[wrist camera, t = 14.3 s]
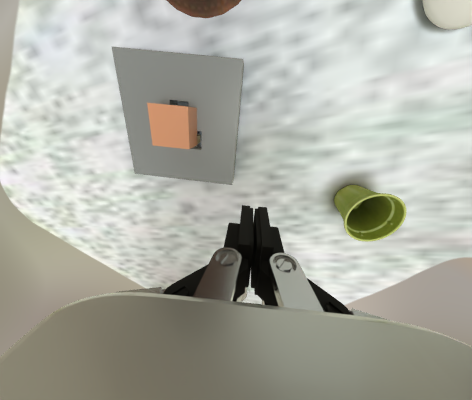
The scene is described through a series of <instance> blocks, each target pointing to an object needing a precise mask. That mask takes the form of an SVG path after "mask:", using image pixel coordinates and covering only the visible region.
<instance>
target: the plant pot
mask: <svg viewBox="0 0 472 400" xmlns="http://www.w3.org/2000/svg"><path fill="white" fill-rule="evenodd" d="M334 203H335V206H336V207H337V209H338V211H339V212H340V214H341V216H342V218H343V220H344V228H345V230H346V232H347V233H348V235H349V236H351V237H352V238H354V239H356V240H359V241H375V240H379V239H382V238H385V237H387V236H389V235H391V234H392V233H394V232H395V231H396V230H397V229H398V228H399V227H400V226H401V225H402V223H403V222H404V219H405V217H406V206H405V204H404V202H403V201H402V200H401V199H400V198H398V197H396V196H394V195H391V194H381V193H376V192H373V191H371V190H368V189H366V188H363V187H361V186H358V185H348V186H346V187H344V188H342V189H341V190H339V191H338V192H337V193H336V195H335V198H334Z"/></svg>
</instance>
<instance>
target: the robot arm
mask: <svg viewBox="0 0 472 400" xmlns="http://www.w3.org/2000/svg"><path fill="white" fill-rule="evenodd" d="M250 271H251V288H255V295H258V296H259V297H260V298H261V299H262V305H261V304H252V303H243V302H242V301H243V300H244V299H245V298H246V295H247V288H246V287H248V286H249V278H250ZM0 400H472V346H470V345H468V344H466V343H464V342H461V341H459V340H457V339H454V338H452V337H449V336H447V335H445V334H442V333H439V332H435V331H432V330H429V329H426V328H423V327H418V326H414V325H411V324H406V323H400V322H395V321H390V320H387V319H384V318H381V317H378V316H374V315H371V314H368V313H365V312H362V311H359V310H355V309H351V311H350V310H348V309H347V308H346V307H345V306H344V305H343V304H342V303H341V302H339V301H338V300H336V299H335V298H334V297H332V296H331V295H330V294H328V293H327V292H325V291H324V290H323V289H321V288H320V287H319V286H317V285H316V284H314V283H313V282H312V281H310V280H309V279H308V278H306V276H305V274H304V272H303V270H302V268H301V266H300V264H299V263H298V261H297V260H296V259H295V258H294V257H292V256H291V255H289V254H286V253H284V250H283V246H282V242H281V238H280V234H279V230H278V228H277V227H270V223H269V217H268V212H267V208H266V207H258V209H255V214H254V222H253V208H250V206H243V205H242V211H241V221H240V224H236V223H229V225H228V230H227V234H226V239H225V244H224V248H221V249H219V250H217V251H216V252H215V253H214V254H213V256H212V258H211V260H210V263H209V264H208V265H206V266H204V267H203V268H201V269H199V270H197V271H195V272H194V273H192V274H190V275H188V276H186V277H185V278H183V279H181V280H179V281H177V282H176V283H174V284H172V285H171V286H169V287H168V288H167V289H163V290H162V288H161V287H158V288H149V289H139V290H129V291H121V292H116V293H109V294H102V295H97V296H93V297H89V298H85V299H82V300H78V301H75V302H73V303H70V304H68V305H66V306H64V307H62V308H60V309H58V310H57V311H55V312H53V313H52V314H51V315H49V316H48V317H46V318H45V319H44V320H43V321H41V322H40V323H39V324H37V325H36V326H35V327H34V328H33V329H31V330H30V331H29V332H28V333H27V334H26V335H24V336H23V337H22V338H21V339H20V340H18V341H17V342H16V343H15V344H14V345H13V346H12V347H11V348H9V349H8V350H7V351H6V352H5V353H4V354H3V355H2V356H1V357H0Z"/></svg>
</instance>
